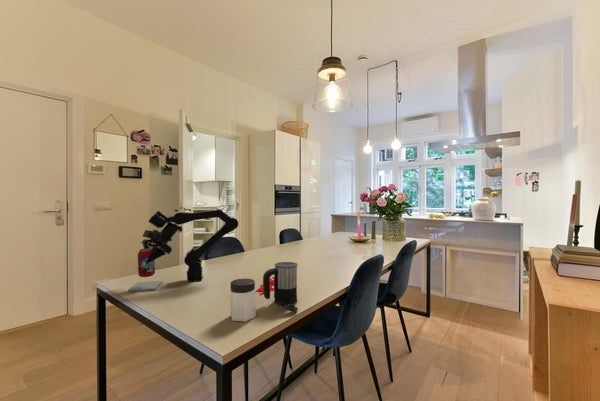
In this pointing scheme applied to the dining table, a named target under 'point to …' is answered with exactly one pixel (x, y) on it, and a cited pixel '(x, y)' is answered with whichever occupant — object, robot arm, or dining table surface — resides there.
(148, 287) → the trivet
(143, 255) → the beverage can
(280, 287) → the milk frother
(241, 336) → the dining table surface
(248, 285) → the jar
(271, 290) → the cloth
